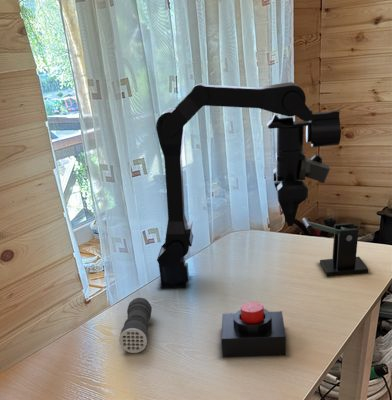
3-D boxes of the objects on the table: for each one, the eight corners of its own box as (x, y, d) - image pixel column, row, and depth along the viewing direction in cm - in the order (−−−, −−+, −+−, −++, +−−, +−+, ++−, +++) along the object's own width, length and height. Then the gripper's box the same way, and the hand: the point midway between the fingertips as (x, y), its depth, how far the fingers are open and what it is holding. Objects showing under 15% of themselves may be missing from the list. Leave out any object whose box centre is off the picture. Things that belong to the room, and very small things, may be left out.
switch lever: (305, 232, 120) (309, 222, 119) (300, 223, 125) (304, 214, 124) (352, 244, 122) (356, 235, 121) (345, 235, 127) (349, 226, 126)
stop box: (222, 357, 99) (220, 330, 96) (223, 331, 107) (222, 305, 104) (285, 355, 98) (285, 328, 94) (281, 329, 106) (281, 303, 103)
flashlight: (130, 317, 116) (126, 295, 113) (153, 315, 116) (150, 293, 113) (121, 353, 103) (117, 330, 100) (148, 351, 103) (144, 328, 100)
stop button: (241, 324, 98) (240, 312, 96) (241, 313, 102) (240, 301, 100) (264, 323, 97) (264, 311, 96) (263, 312, 101) (263, 300, 100)
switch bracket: (326, 277, 125) (329, 234, 119) (319, 264, 132) (321, 223, 126) (368, 273, 125) (372, 230, 119) (358, 260, 132) (362, 219, 126)
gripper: (334, 155, 102) (330, 231, 110) (321, 137, 118) (318, 205, 126) (278, 159, 103) (278, 234, 111) (272, 141, 119) (273, 208, 127)
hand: (288, 219), depth 119 cm, fingers open, 9 cm apart
